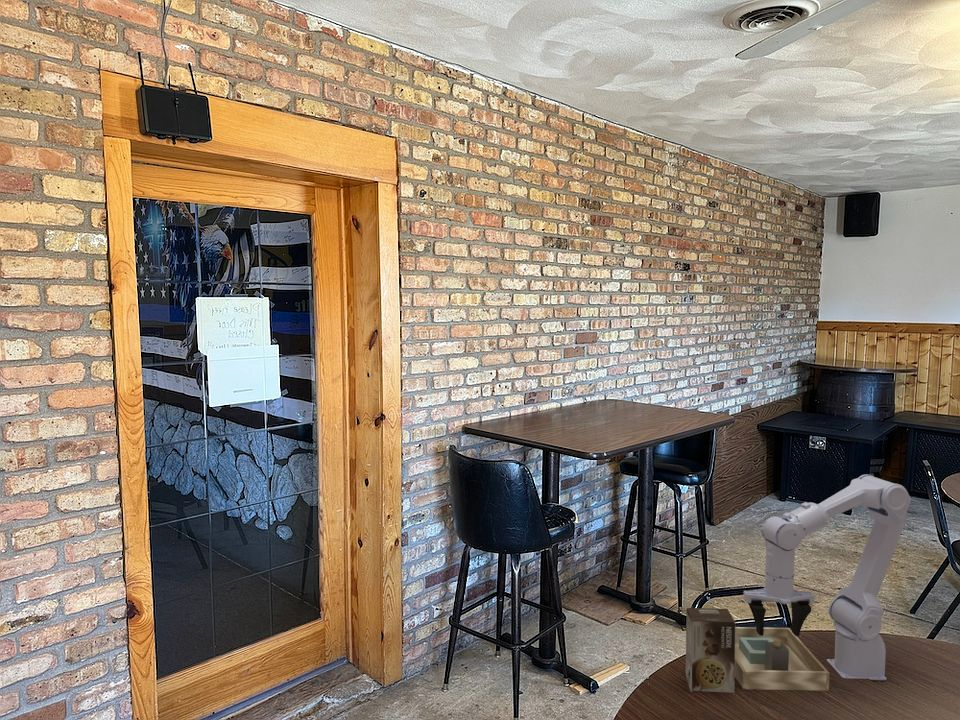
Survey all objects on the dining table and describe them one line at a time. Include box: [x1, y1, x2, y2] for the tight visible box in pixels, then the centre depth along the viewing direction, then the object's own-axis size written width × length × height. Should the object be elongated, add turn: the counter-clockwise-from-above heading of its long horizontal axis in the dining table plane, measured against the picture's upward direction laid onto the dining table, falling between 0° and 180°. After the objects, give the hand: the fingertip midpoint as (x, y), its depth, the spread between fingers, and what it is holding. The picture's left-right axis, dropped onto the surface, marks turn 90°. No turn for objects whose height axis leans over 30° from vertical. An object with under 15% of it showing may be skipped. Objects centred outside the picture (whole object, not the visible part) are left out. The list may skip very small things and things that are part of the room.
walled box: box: [735, 626, 830, 692], centre depth 152 cm, size 18×20×4 cm
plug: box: [765, 640, 789, 671], centre depth 146 cm, size 4×4×8 cm
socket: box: [739, 637, 774, 664], centre depth 156 cm, size 7×7×2 cm
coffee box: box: [685, 607, 736, 694], centre depth 144 cm, size 9×6×16 cm
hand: (777, 633), depth 146 cm, fingers open, 7 cm apart
